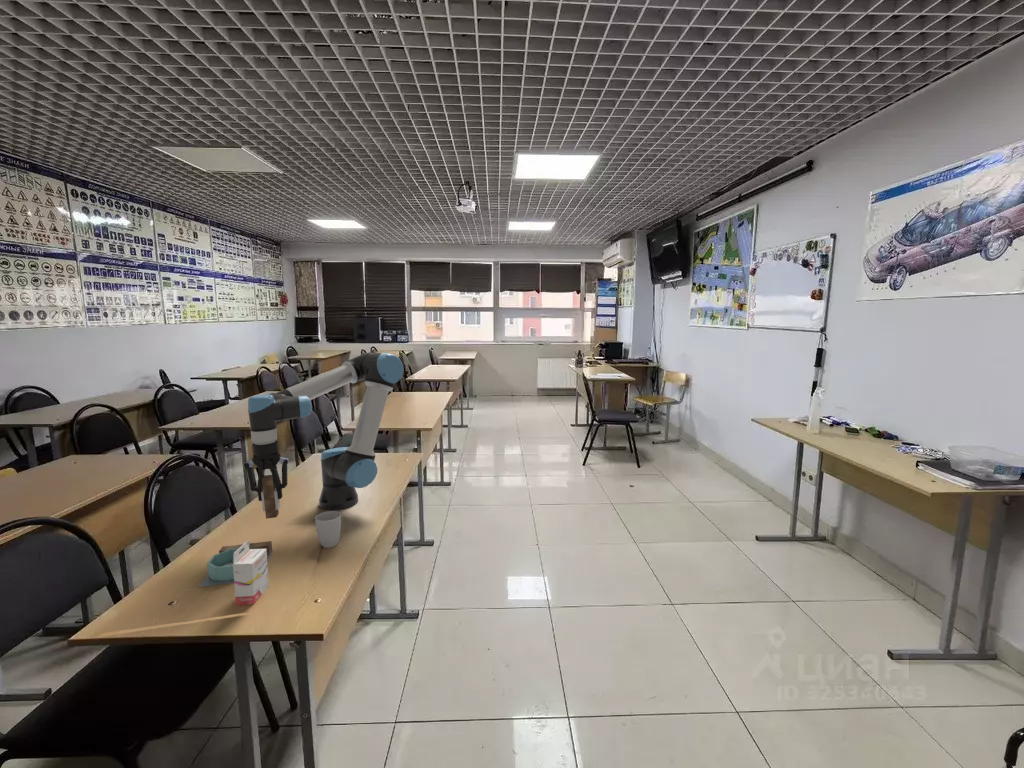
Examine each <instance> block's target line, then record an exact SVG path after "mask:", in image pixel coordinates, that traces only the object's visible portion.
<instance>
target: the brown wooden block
mask: <svg viewBox="0 0 1024 768" xmlns="http://www.w3.org/2000/svg"><path fill="white" fill-rule="evenodd" d="M262 485H263V495H264V504H265V511H264V512H265V519H273V518H278V516H279V514H280V512H279V509H278V510H276V506H275V496H274V491H275V489H276V487H275V483H274V480H273V476H272V474H267V475H266V474H264V477H263V478H262Z"/></svg>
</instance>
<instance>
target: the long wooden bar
mask: <svg viewBox="0 0 1024 768" xmlns="http://www.w3.org/2000/svg"><path fill="white" fill-rule="evenodd" d="M243 544H244V543H243ZM243 544H234V545H225V546H224V545H223V546H222V547H220V549H219V551H218V554H219V553H221V552H224V551H226V550H229V549H235V548H240V547H241V546H242V545H243ZM249 548H250V549H267V555H270V554H271V552H272V550H273V543H272V540H269V541H268V540H267V541H260V542H259V541H258V542H251V543H250V542H249Z"/></svg>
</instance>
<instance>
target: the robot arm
mask: <svg viewBox="0 0 1024 768" xmlns="http://www.w3.org/2000/svg"><path fill="white" fill-rule="evenodd" d="M404 370H405V368H404V365H403V362H402V359H401V358H400V357H398V356H397V355H396V354H392V353H388V352H365V353H362V354H360V355H358V356H355V357H353V358H351V359H348V360H346V361H343V362H342V364H341V366H340V365H339V366H338V367H336V368H333V369H330V370H328V371H326V372H324V373H321V374H319V375H316V376H313V377H311V378H309V379H306V380H303V381H302V382H300V383H297V384H295V385H292V386H290V387H287V388H285V389H283V390H280V391H278V392H268V393H265V394H255V395H252V396H250V397H249V398H248V400H247V411H248V418H249V425H250V437H251V443H252V446H251V447H252V458H251V460H248V461H246V462H245V463H244V464H243V466H244V468H245V469H246V471H247V476H248V477H247V478H248V483H249V487H250V491H251V492H257V497H258V498H257V499H258V502H261V503H262V504H261V505H262V512H265V504H264V495H263V485H262V478H263V477H264V475H265V471H266V470H269V471H270V473H271V475H272V476H273V480H274V483H275V487H276V489H275V491H274V496H275V506H276V510H278V511H279V509H280V508H281V499H282V498H283V489H285V488H286V487H287V485H288V463H289V461H290V458H289V457H282V455H281V454H280V451H279V441H278V440H277V439H278V431H277V428H278V427H277V423H278V422H282V421H289V420H295V419H302V418H305V417H309V416H310V415H311V413H312V410H313V404H312V402H311V401H312V400H314V399H316V398H319V397H320V396H323V395H325V394H327V393H330V392H332V391H334V390H336V389H338V388H340V387H343V386H346V385H347V384H350V383H351V384H356V383H358V382H361V381H364V384H365V386H366V389H365V392H364V393H365V394H364V397H363V401H362V404H361V408H360V412H359V415H358V418H357V423H356V425H355V429H354V433H353V437H352V440H351V444H350V446H342V447H341V446H340V447H335V448H334V447H333V448H330V449H329V448H328V449H326V450H324V451H322V452H321V455H320V456H321V457H320V461H321V462H320V463H321V466H320V467H321V481H322V487H321V492H320V496H319V499H318V506H319V508H321V509H322V508H323V510H328V511H336V510H335V509H337V510H343V509H346V508H350V507H352V505H353V506H354V505H356V504H357V503H358V502H357V501H359V495H358V492H357V490H356V489H363V488H366V487H368V486H370V484H372V482H374V480H376V477H377V475H378V466H377V464H376V462H375V459H376V453H375V451H374V448H375V444H376V442H377V441H376V440H377V436H378V432H379V430H380V425H381V421H382V418H383V414H384V410H385V406H386V403H387V398H388V395H389V393H390V392H392V391H393V390H394V387H395V384H396V383H398V382H399V381H400V380H401V379H402V378H403V376H404V372H405V371H404ZM279 462H280V464H281V465H282V466H281V478H280V475H279V471H278V467H277V465H278V463H279ZM254 466H256V467H257V468H258V470H257V471H258V474H257V475H258V478H257V479H256V476H255V469H254ZM355 503H356V504H355Z"/></svg>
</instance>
